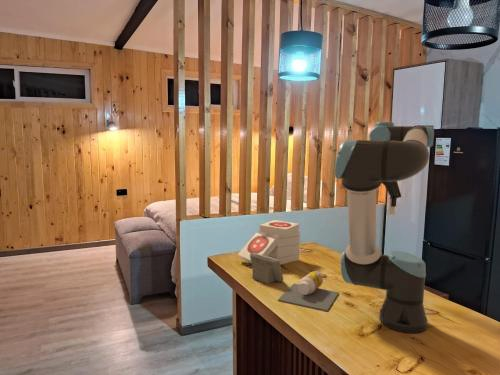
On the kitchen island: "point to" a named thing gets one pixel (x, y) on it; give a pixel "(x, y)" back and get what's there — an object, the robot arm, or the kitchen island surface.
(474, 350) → the kitchen island surface
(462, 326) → the kitchen island surface
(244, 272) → the kitchen island surface
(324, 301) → the mat
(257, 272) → the digital clock
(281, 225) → the pizza boxes
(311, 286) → the supplement bottle
